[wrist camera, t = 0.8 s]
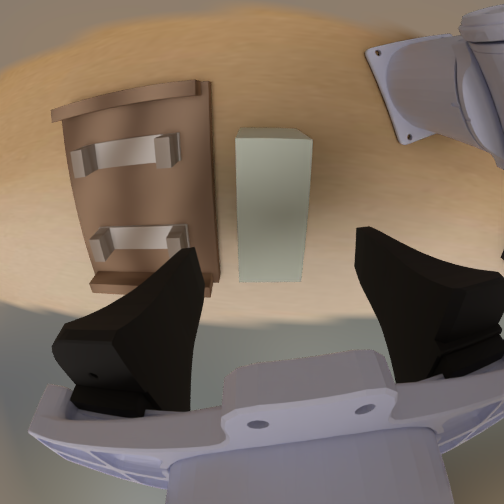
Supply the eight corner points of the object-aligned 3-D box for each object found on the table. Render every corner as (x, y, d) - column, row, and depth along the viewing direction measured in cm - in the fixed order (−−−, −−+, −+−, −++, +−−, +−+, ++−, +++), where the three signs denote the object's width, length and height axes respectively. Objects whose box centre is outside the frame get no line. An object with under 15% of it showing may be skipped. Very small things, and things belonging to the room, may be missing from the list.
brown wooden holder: (210, 82, 17) (202, 78, 14) (220, 274, 25) (216, 300, 22) (69, 107, 17) (43, 112, 14) (101, 272, 25) (87, 294, 22)
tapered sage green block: (296, 128, 19) (312, 139, 14) (290, 238, 23) (301, 281, 18) (240, 127, 19) (235, 138, 14) (242, 238, 23) (239, 282, 18)
